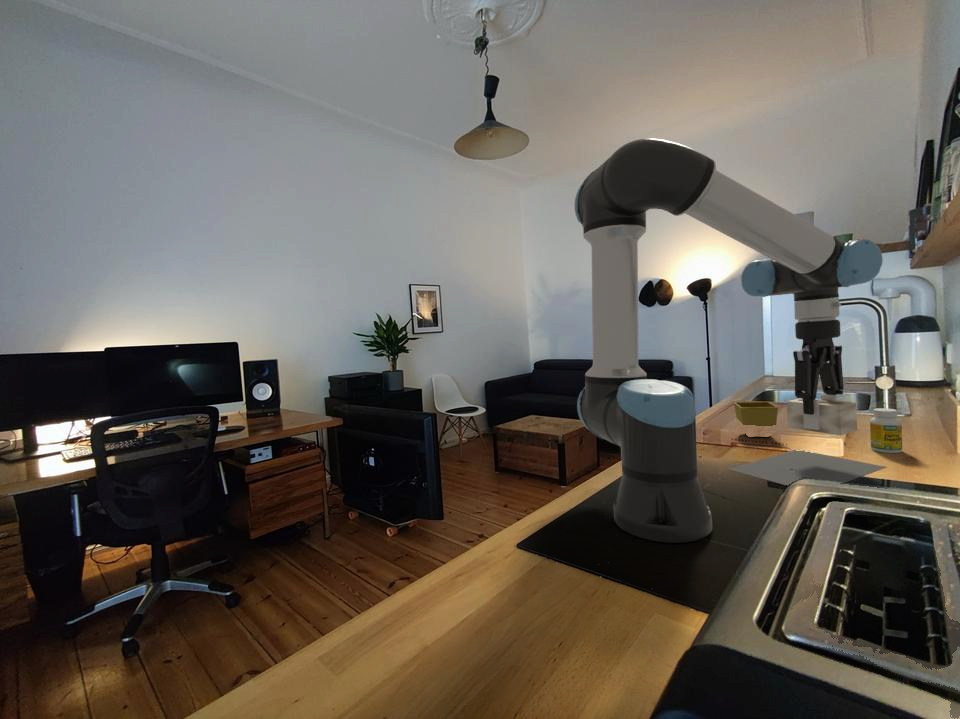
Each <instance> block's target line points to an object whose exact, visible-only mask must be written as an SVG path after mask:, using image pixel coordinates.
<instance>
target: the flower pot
mask: <svg viewBox="0 0 960 719" xmlns="http://www.w3.org/2000/svg"><path fill="white" fill-rule="evenodd" d="M733 406H734V411H735V417H736V420H737V419H738V420H739V421H740V422H741V423H742V424H743V425H756V426H773V425H776V426H777V420H778V410H779V407H778V405H777V404H773V403H772V402H770V401H735V402H733Z"/></svg>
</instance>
